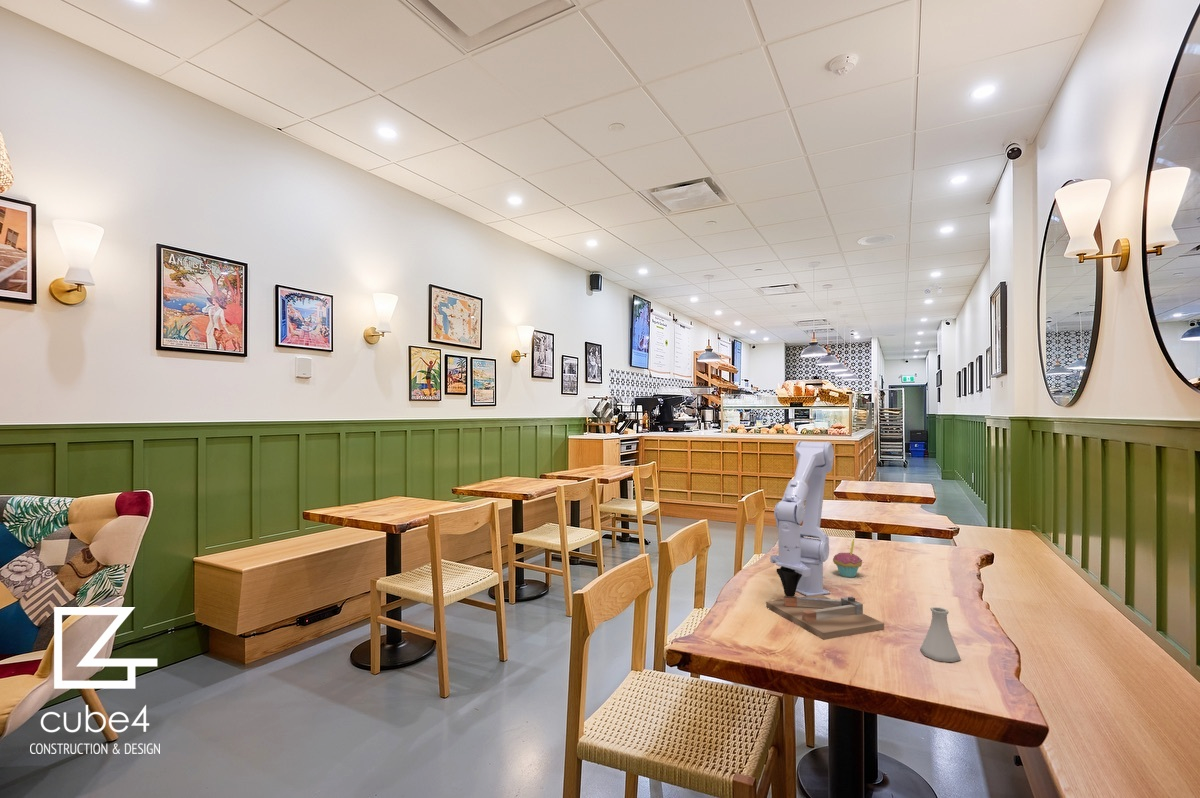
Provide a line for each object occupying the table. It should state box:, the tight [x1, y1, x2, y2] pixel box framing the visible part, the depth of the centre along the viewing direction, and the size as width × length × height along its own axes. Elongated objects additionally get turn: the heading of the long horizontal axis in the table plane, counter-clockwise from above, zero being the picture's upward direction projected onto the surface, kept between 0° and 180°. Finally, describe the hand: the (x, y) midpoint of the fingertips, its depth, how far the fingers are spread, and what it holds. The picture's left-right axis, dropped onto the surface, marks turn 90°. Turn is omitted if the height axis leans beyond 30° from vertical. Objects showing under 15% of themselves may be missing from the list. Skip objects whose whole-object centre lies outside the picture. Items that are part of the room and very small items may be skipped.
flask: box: [919, 606, 962, 663], centre depth 120 cm, size 7×7×10 cm
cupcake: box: [832, 538, 863, 578], centre depth 178 cm, size 9×8×12 cm
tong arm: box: [783, 595, 842, 608], centre depth 145 cm, size 14×2×2 cm, turn 79°
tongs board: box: [765, 594, 885, 640], centre depth 142 cm, size 22×18×5 cm
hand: (789, 595), depth 151 cm, fingers closed
